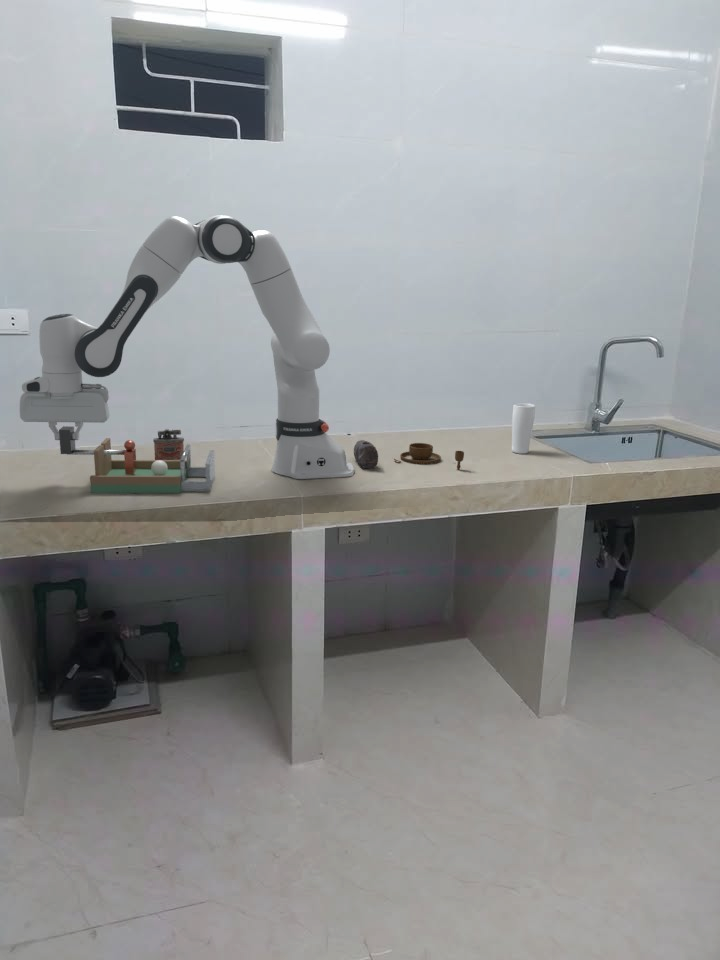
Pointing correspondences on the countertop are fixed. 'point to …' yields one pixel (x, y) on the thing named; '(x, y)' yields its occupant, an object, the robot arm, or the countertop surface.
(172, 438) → the lighter
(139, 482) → the pitch
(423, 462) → the place setting
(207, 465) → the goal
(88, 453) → the rod
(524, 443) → the drinking glass
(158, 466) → the ball
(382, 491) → the countertop surface
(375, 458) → the perforated stone tool
